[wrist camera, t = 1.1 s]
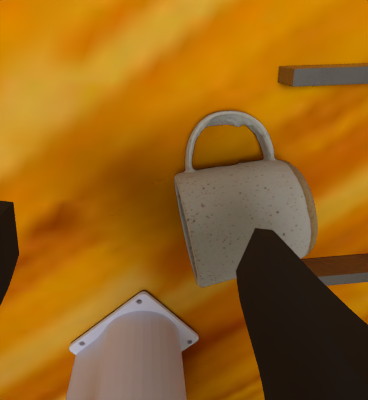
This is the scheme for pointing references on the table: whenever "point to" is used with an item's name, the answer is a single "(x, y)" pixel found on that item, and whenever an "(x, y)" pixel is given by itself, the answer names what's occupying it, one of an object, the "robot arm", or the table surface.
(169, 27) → the table surface
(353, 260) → the coupler cradle
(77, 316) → the table surface
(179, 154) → the table surface
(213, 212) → the ceramic mug
